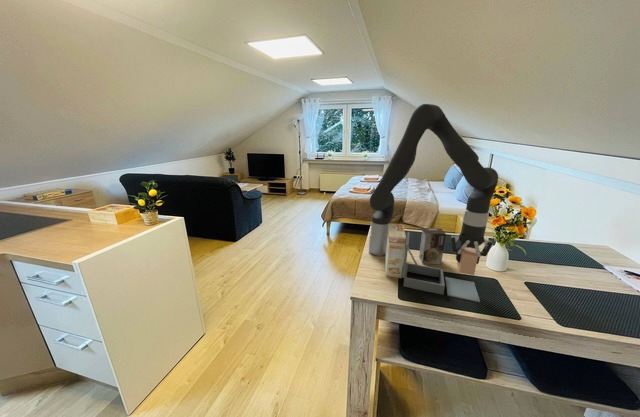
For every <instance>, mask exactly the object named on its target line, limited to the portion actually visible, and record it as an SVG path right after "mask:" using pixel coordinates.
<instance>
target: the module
mask: <svg viewBox="0 0 640 417" xmlns="http://www.w3.org/2000/svg"><path fill="white" fill-rule="evenodd" d="M477 259H478V255H477V253H476V251H475V249H474V248H467V247H466V248H465V249H464V250H463V251H462V253H461V258H460V262H458V261H457V260H456V264H457V265H456V266H457V269H458V273H460V274H465V275H471V276H474V275H475V273H476V268H477V265H478V264H477Z"/></svg>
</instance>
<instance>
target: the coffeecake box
mask: <svg viewBox="0 0 640 417" xmlns="http://www.w3.org/2000/svg"><path fill="white" fill-rule="evenodd" d="M406 238H407V233H406V231H405V226H404V225H403V224H393V223H390V224H389V226H388V237H387V248H386V255H385V259H384V261H385V262H384V263H385V277H391V278H396V279H402V271H403V262H404V253H405V245H406Z"/></svg>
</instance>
